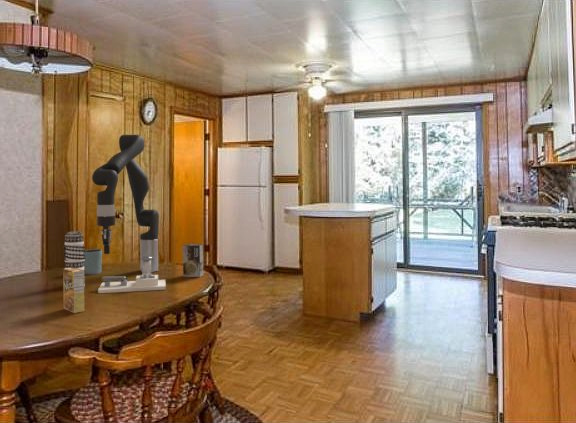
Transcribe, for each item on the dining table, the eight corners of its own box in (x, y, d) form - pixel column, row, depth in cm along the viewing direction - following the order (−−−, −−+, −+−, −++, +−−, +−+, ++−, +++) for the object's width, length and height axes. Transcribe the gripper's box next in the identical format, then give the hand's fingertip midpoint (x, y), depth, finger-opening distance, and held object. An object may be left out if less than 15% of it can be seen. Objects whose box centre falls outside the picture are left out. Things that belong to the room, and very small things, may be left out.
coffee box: (203, 274, 238) (203, 244, 237) (200, 277, 232) (200, 245, 231) (186, 274, 239) (186, 243, 238) (182, 277, 233) (182, 245, 232)
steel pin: (142, 282, 212) (141, 256, 211) (153, 282, 212) (153, 256, 212) (140, 284, 206) (139, 258, 206) (152, 284, 207) (151, 257, 207)
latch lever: (103, 279, 206) (103, 276, 206) (125, 279, 208) (125, 275, 208) (102, 280, 202) (102, 277, 202) (125, 280, 205) (125, 277, 205)
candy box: (62, 309, 171) (62, 268, 170) (74, 307, 174) (73, 267, 174) (73, 313, 166) (73, 271, 165) (85, 311, 169) (84, 269, 168)
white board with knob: (102, 285, 211) (102, 276, 211) (165, 282, 219) (165, 273, 218) (98, 293, 197) (97, 282, 197) (165, 289, 204) (165, 279, 204)
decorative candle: (59, 287, 208) (57, 232, 206) (75, 283, 216) (74, 230, 215) (74, 289, 205) (73, 233, 203) (90, 284, 213) (89, 231, 212)
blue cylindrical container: (106, 272, 244) (106, 250, 243) (89, 275, 235) (88, 252, 234) (94, 270, 249) (94, 248, 248) (77, 273, 241) (77, 250, 240)
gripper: (98, 214, 208) (99, 251, 209) (94, 216, 196) (95, 256, 197) (116, 213, 210) (117, 251, 211) (113, 215, 198) (114, 255, 199)
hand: (106, 253), depth 204 cm, fingers closed
